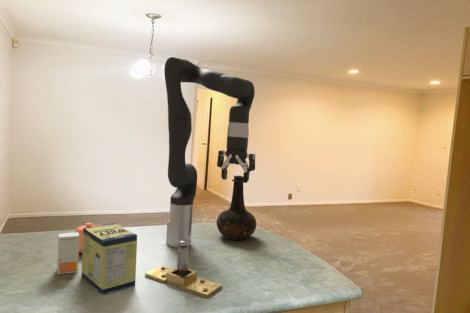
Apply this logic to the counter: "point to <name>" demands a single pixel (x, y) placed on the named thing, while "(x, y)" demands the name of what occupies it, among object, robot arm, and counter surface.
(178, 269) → the hinge pin
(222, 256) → the counter surface
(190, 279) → the hinge leaves
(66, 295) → the counter surface
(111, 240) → the protein box
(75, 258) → the skincare box
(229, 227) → the glass bottle
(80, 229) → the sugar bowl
